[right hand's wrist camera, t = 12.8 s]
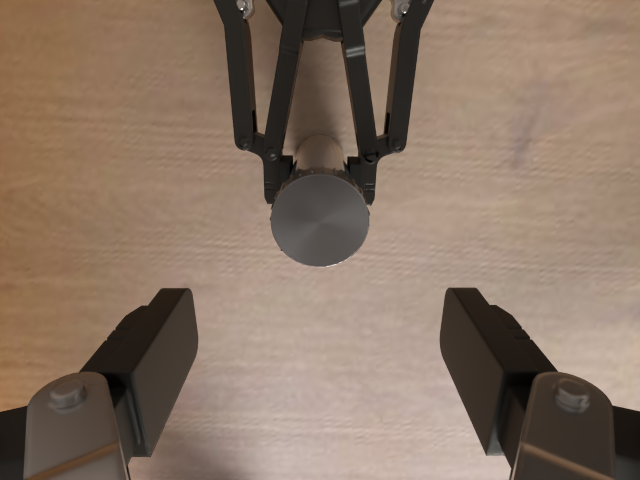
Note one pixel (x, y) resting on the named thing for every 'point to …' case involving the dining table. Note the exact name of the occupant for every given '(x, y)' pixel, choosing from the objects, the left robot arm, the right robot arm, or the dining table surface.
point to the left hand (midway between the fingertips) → (318, 243)
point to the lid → (319, 217)
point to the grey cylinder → (319, 155)
